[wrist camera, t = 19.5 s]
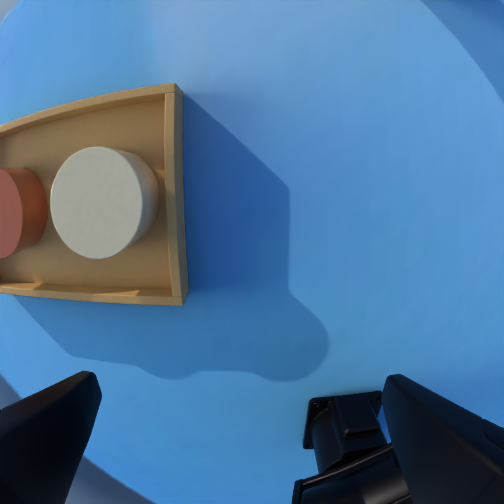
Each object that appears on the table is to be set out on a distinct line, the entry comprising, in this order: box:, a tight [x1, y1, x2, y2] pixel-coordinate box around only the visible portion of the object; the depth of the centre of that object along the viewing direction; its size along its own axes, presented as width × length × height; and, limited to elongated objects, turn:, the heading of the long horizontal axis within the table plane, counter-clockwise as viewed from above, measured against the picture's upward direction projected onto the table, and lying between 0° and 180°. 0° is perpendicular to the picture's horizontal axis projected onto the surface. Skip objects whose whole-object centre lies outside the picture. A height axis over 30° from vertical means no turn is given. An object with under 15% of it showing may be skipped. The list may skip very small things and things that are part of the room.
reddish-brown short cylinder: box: [0, 167, 48, 259], centre depth 17 cm, size 6×6×3 cm
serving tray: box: [0, 83, 189, 306], centre depth 18 cm, size 13×18×2 cm
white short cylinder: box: [50, 146, 160, 259], centre depth 17 cm, size 6×6×3 cm
